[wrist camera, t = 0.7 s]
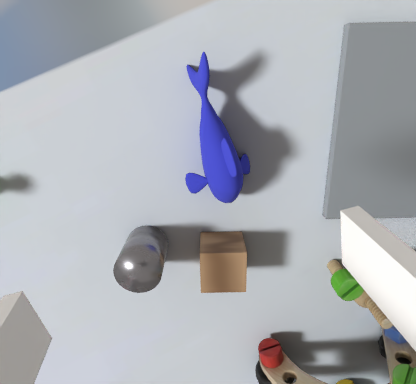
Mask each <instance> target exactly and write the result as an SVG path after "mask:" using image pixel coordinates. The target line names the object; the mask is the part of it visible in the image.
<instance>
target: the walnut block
mask: <svg viewBox="0 0 416 384" xmlns="http://www.w3.org/2000/svg"><path fill="white" fill-rule="evenodd" d="M246 271H247V250H246V246H245V242H244V238H243V234H242V231H235V232H201V233H200V276H201V293H214V292H246Z"/></svg>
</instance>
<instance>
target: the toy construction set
mask: <svg viewBox="0 0 416 384" xmlns="http://www.w3.org/2000/svg"><path fill="white" fill-rule="evenodd" d="M327 267H328V268H329V270H330V271H331V273H332V275H333V276H332V278H331V285H332V287H333V288H334V290H335V291H336V293H337V295H338V296H339V297H341V298H342V299H343V300H345V301H352V300H354V301H355V302H356V303H357V304H358V305H360V306H362V307H364V308H369V310H370V311H371V313H372V314H373V315H374V317H375V318H376V320H377V322H378V323H379V324H380V326H381V327H382V333H383V335H382V336H381V337H380V340H379V342H378V343H379V348H380V353H381V355H382V356H384V357H385V358H386V359H387V364H388V370H389V376H390V383H388V384H416V351H415V350H414V349H413V348H412V347H411V345H410V344H409V343H408V342H407V341H406V339H405V338H404V337H403V336H402V335H401V333H400V332H399V331H398V330H397V329H396V327H395V326H394V325H393V324H392V323H391V321H390V320H389V319H388V318H387V317H386V315H385V314H384V313H383V312H382V311H381V309H380V308H379V307H378V306H377V305H376V303H375V302H374V301H373V300H372V299H371V297H370V296H369V295H368V294H367V293H366V291H365V290H364V289H363V288H362V287H361V285H360V284H359V283H358V282H357V281H356V279H355V278H354V277H353V276H352V275H351V273H350V272H349V271H348V270H347V269H343V267H342V266H341V265H340V263H339V262H338V261H337V260H331V261H330V262H329V263H328V264H327ZM258 350H259V361H258V363H257V365H256V377H257V380H258V382H259V384H327V383H325V382H322V381H320V380H318V379H316V378H314V377H312V376H310V375H309V374H307V373H306V372H304V371H303V370H301V369H300V368H299V367H298V366H296V365H295V364H294V363H293V362H292V361H291V360H290V359H289V358H288V357H287V355H286V354H285V353H284V352H283V351H282V347H281V346H280V343H279V342H278V341H277V340H276V339H271V338H267V339H264V340H263V341H261V342H260V344H259V347H258ZM294 378H295V379H296V382H295V383H293V381H294ZM336 384H354V382H353V381H352V380H347V379H344V380H340V381H338V382H337V383H336Z"/></svg>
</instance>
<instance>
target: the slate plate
mask: <svg viewBox="0 0 416 384" xmlns="http://www.w3.org/2000/svg"><path fill="white" fill-rule="evenodd" d="M356 206H359V207H361V208H362V209H363V210H364V211H366V212H367V213H368V214H369V215H371V216H372V217H373V218H410V217H416V22H379V23H349V24H346V25H344V33H343V41H342V50H341V59H340V67H339V76H338V85H337V93H336V102H335V111H334V119H333V128H332V136H331V145H330V154H329V162H328V171H327V180H326V188H325V197H324V206H323V214H322V215H323V216H324V217H325V218H326V219H341V214H340V210H344V209H348V208H352V207H356Z"/></svg>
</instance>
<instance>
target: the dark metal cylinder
mask: <svg viewBox="0 0 416 384" xmlns="http://www.w3.org/2000/svg"><path fill="white" fill-rule="evenodd" d="M167 250H168V240H167V238H166V236H165V234H164V233H163V232H162V231H161V230H159V229H158V228H155V227H152V226H141V227H138V228H136V229H134V230H133V231H132V232H131V233H130V235H129V237H128V239H127V241H126V243H125V245H124V247H123V249H122V251H121V253H120V255H119V257H118V259H117V261H116V263H115V265H114V270H113V271H114V276H115V279H116V281H117V282H118V283H119V284H120V285H121V286H122V287H123V288H125V289H126V290H129V291H132V292H137V293H141V292H147V291H150V290H152V289H153V288H155V287H156V286H157V285H158V283H159V282H160V280H161V276H162V272H163V267H164V263H165V259H166V254H167Z"/></svg>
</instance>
